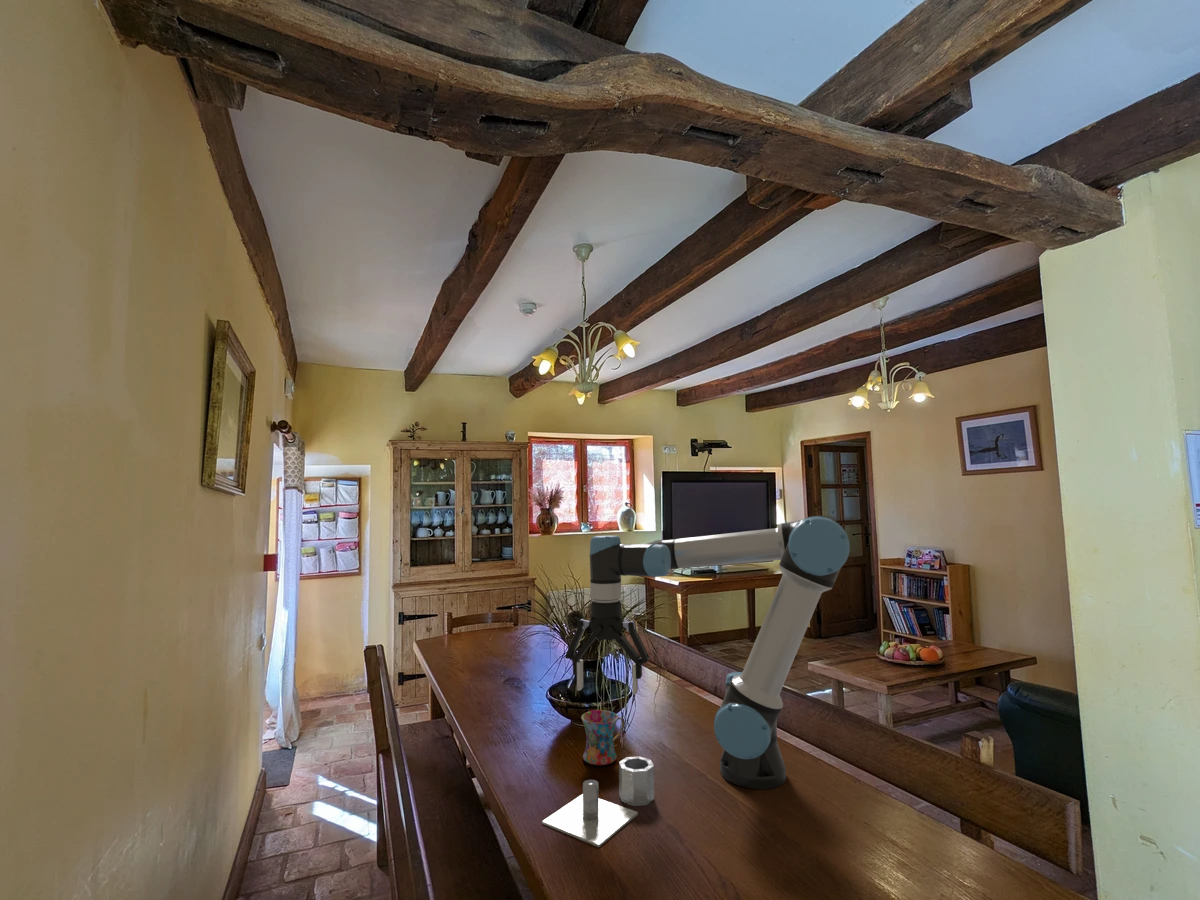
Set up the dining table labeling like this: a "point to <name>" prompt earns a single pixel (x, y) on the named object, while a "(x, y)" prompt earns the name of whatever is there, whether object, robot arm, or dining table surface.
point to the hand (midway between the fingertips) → (607, 690)
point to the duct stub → (590, 817)
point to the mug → (600, 736)
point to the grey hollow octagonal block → (636, 781)
